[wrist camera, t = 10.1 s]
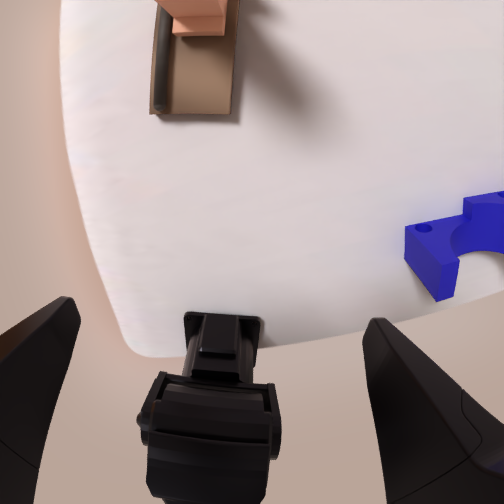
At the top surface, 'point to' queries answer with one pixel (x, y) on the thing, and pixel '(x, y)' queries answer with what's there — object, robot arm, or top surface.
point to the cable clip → (454, 242)
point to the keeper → (196, 16)
